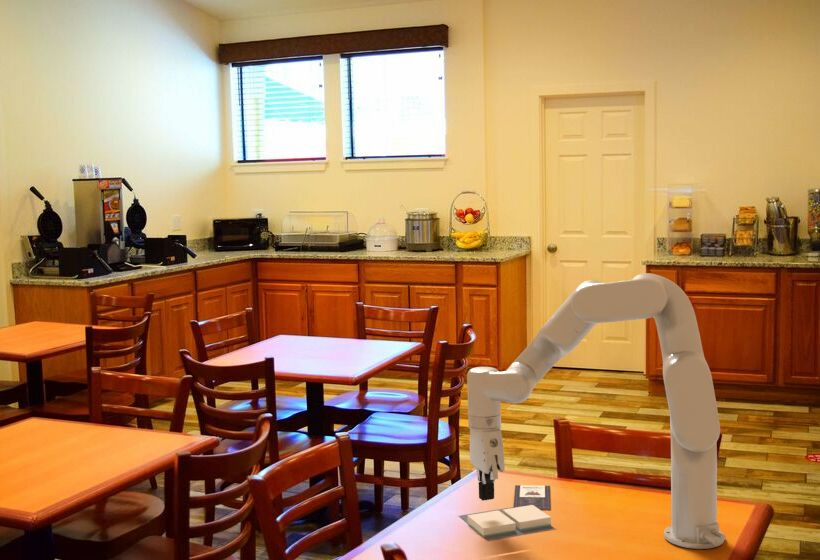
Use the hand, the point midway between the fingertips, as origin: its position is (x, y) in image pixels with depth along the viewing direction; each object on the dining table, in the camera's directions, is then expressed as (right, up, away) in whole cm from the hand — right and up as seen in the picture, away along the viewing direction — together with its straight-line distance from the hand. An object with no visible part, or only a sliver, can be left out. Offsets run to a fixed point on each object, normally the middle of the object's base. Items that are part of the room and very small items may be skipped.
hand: (486, 498), depth 205 cm
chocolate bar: (+13, -5, +18) cm, 23 cm away
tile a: (+8, -4, +6) cm, 10 cm away
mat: (+5, -6, +1) cm, 8 cm away
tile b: (-1, -5, +3) cm, 6 cm away
